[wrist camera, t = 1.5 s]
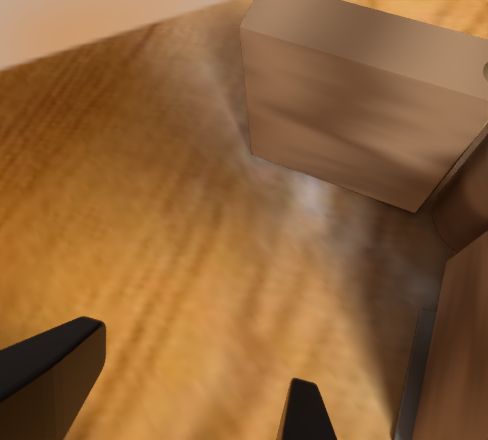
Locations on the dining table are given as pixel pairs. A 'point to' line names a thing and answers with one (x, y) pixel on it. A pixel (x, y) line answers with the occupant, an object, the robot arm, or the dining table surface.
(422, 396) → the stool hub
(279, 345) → the dining table surface
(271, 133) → the hinged leg
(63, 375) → the robot arm
